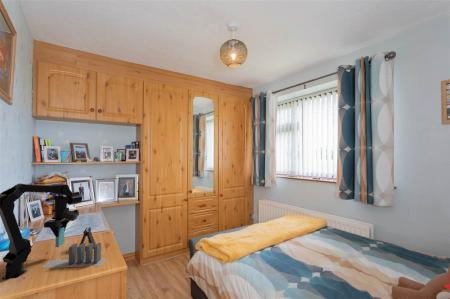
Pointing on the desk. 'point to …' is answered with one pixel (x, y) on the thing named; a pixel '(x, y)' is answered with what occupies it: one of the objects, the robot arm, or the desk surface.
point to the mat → (66, 264)
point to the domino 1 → (60, 237)
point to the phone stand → (90, 237)
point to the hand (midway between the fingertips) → (60, 235)
